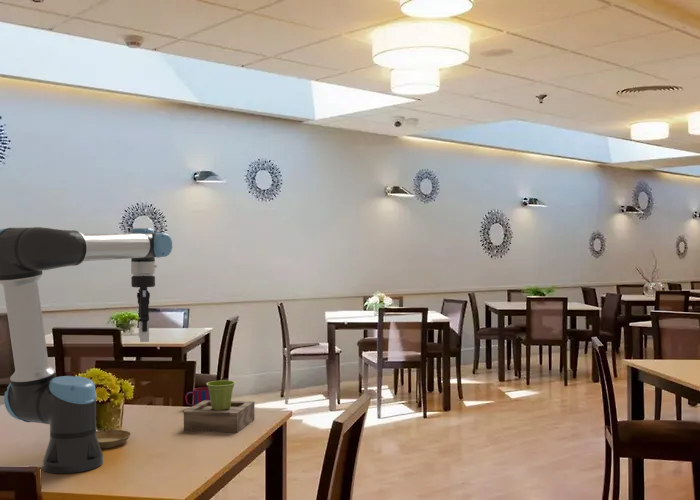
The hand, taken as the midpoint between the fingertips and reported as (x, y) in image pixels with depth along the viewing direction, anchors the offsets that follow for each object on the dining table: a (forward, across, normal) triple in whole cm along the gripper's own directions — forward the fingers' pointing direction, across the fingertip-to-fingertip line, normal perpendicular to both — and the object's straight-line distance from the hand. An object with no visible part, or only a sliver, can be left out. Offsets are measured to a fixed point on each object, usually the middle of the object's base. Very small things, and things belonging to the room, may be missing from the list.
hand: (143, 339), depth 243 cm
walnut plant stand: (+29, -6, -24) cm, 38 cm away
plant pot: (+24, -4, -24) cm, 35 cm away
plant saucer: (+29, -18, +12) cm, 36 cm away
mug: (+29, +24, -20) cm, 43 cm away
